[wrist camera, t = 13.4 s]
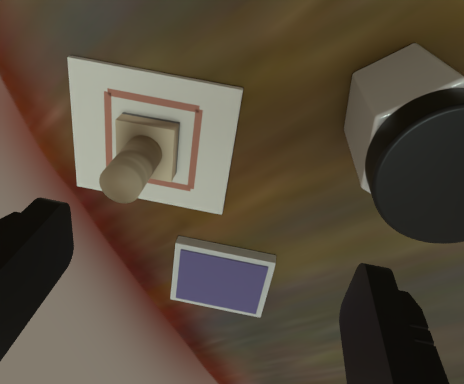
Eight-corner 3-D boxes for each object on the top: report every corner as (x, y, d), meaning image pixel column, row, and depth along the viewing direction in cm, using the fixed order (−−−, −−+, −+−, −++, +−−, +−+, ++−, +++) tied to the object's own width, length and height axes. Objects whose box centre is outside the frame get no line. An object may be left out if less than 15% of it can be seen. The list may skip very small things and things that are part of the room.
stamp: (180, 122, 32) (154, 161, 26) (176, 172, 35) (152, 218, 29) (123, 112, 32) (84, 148, 26) (124, 162, 35) (88, 206, 29)
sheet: (243, 87, 31) (242, 90, 30) (222, 211, 37) (221, 214, 36) (70, 55, 31) (67, 57, 30) (80, 182, 37) (77, 186, 37)
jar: (440, 159, 32) (511, 257, 21) (337, 154, 32) (358, 245, 22) (476, 43, 27) (589, 97, 17) (355, 40, 28) (392, 90, 18)
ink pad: (276, 255, 39) (275, 264, 38) (261, 309, 43) (260, 319, 42) (178, 235, 39) (175, 244, 38) (173, 291, 43) (169, 300, 42)
